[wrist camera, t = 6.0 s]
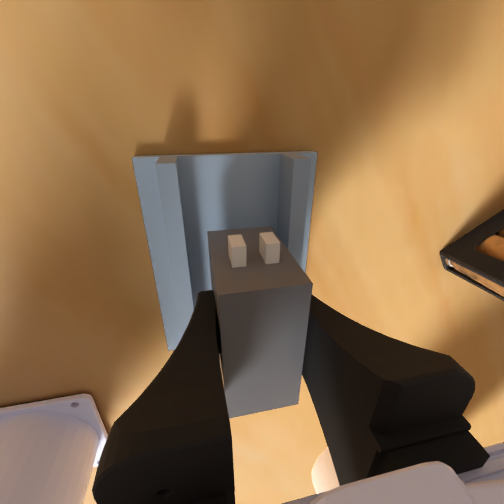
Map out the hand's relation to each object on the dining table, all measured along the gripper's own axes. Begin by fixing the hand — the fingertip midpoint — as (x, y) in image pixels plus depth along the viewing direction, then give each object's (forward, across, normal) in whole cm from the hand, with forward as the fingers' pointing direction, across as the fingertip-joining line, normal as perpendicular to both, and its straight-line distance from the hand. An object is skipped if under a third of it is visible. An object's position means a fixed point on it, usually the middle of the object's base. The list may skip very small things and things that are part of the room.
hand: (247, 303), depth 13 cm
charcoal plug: (+2, 0, 0) cm, 2 cm away
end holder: (+4, 0, 0) cm, 4 cm away
